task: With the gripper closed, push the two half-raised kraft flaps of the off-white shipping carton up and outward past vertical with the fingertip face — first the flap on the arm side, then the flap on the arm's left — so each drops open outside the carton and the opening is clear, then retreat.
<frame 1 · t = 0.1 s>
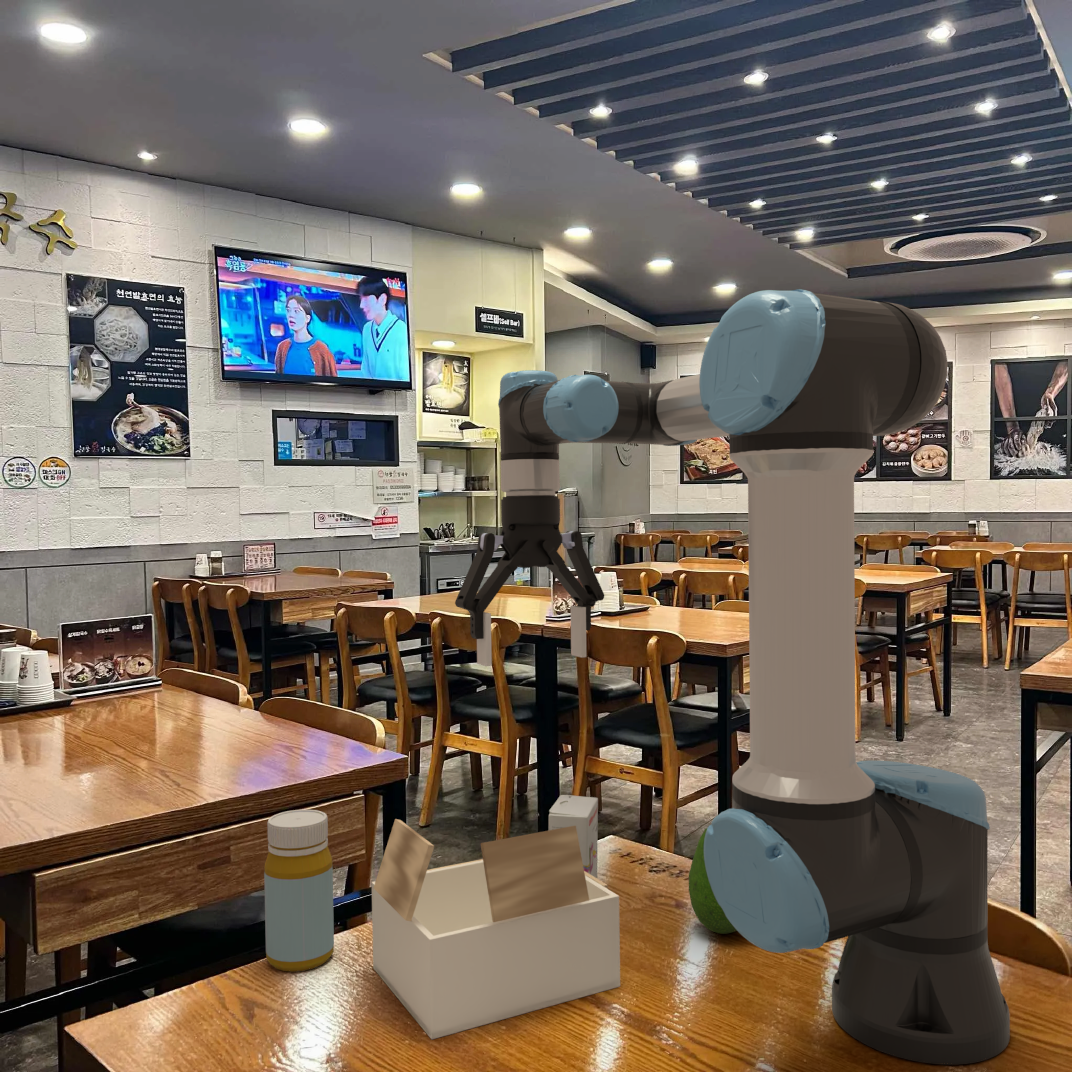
hand: (532, 660, 127), 28 cm above the table, fingers open, 13 cm apart
carton: (493, 976, 100), on the table
fruit: (724, 933, 110), on the table
left flap: (402, 867, 95), point 13 cm above the table, hinge at -20.1°
bottle: (300, 960, 105), on the table
ink box: (574, 902, 120), on the table
near flap: (535, 872, 94), point 13 cm above the table, hinge at -20.1°
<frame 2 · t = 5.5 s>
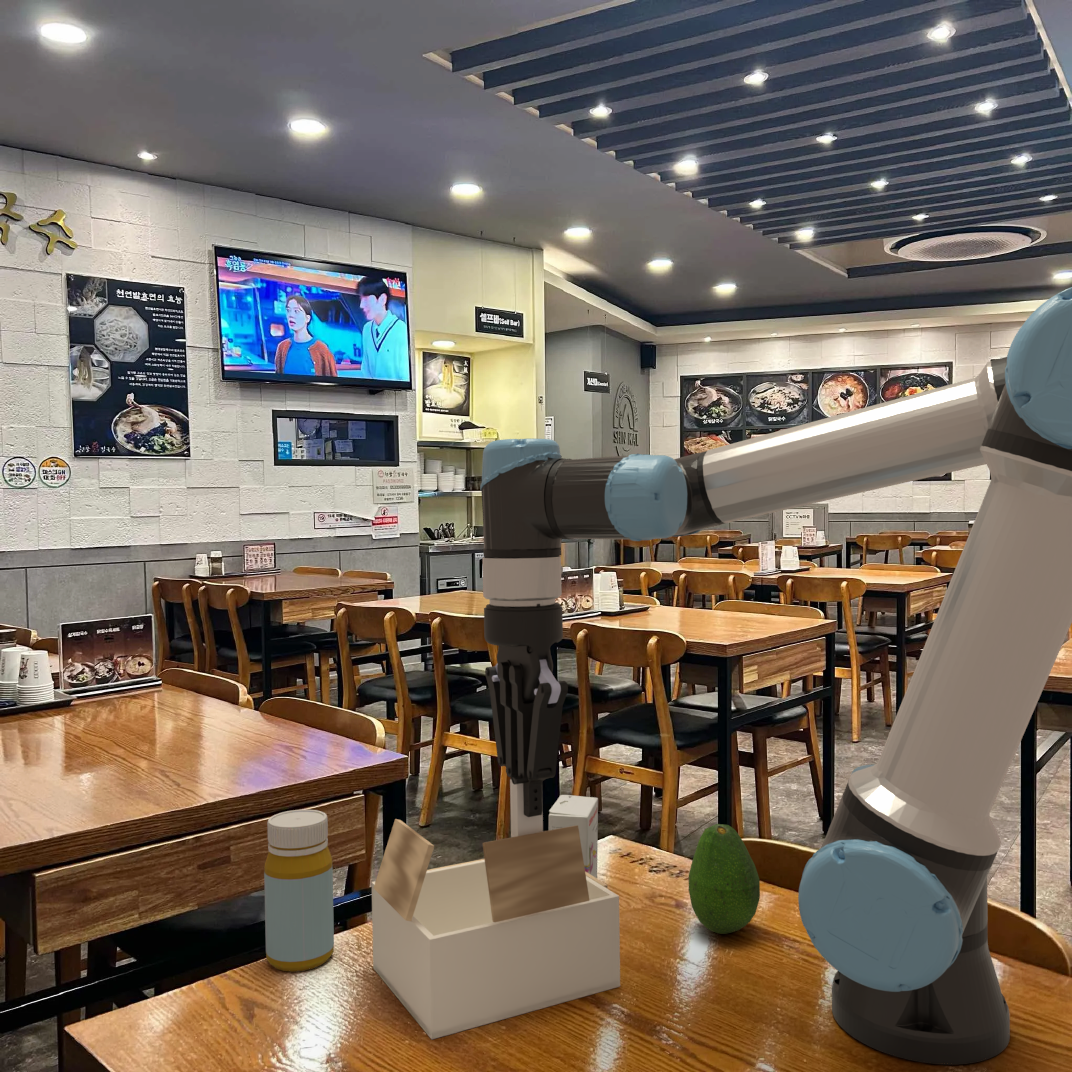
hand: (527, 846, 95), 15 cm above the table, fingers closed
near flap: (536, 872, 93), point 13 cm above the table, hinge at -16.4°, touching gripper
everything else where it was.
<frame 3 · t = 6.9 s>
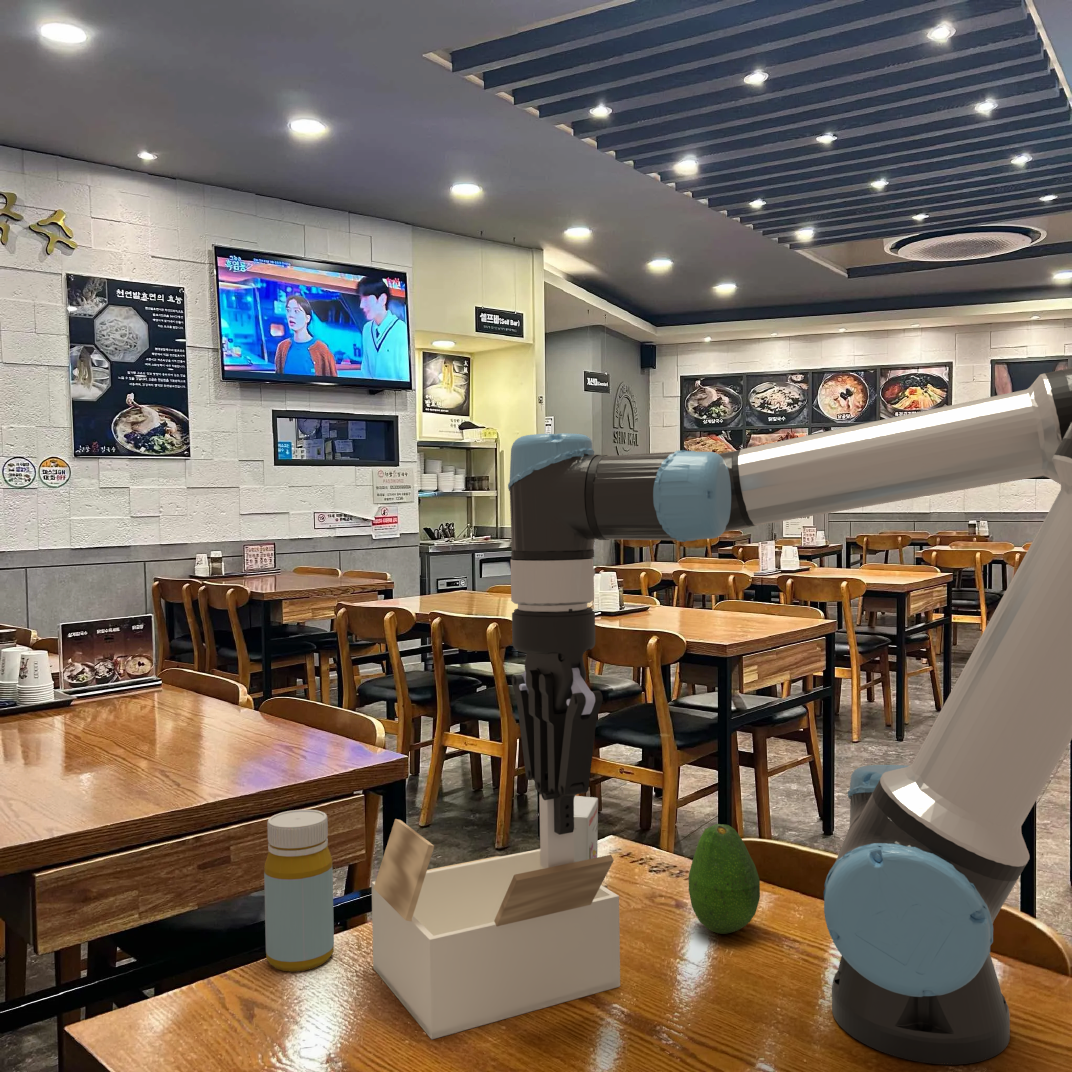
hand: (557, 864, 90), 15 cm above the table, fingers closed
near flap: (554, 890, 90), point 12 cm above the table, hinge at 37.2°, touching gripper
everything else where it was.
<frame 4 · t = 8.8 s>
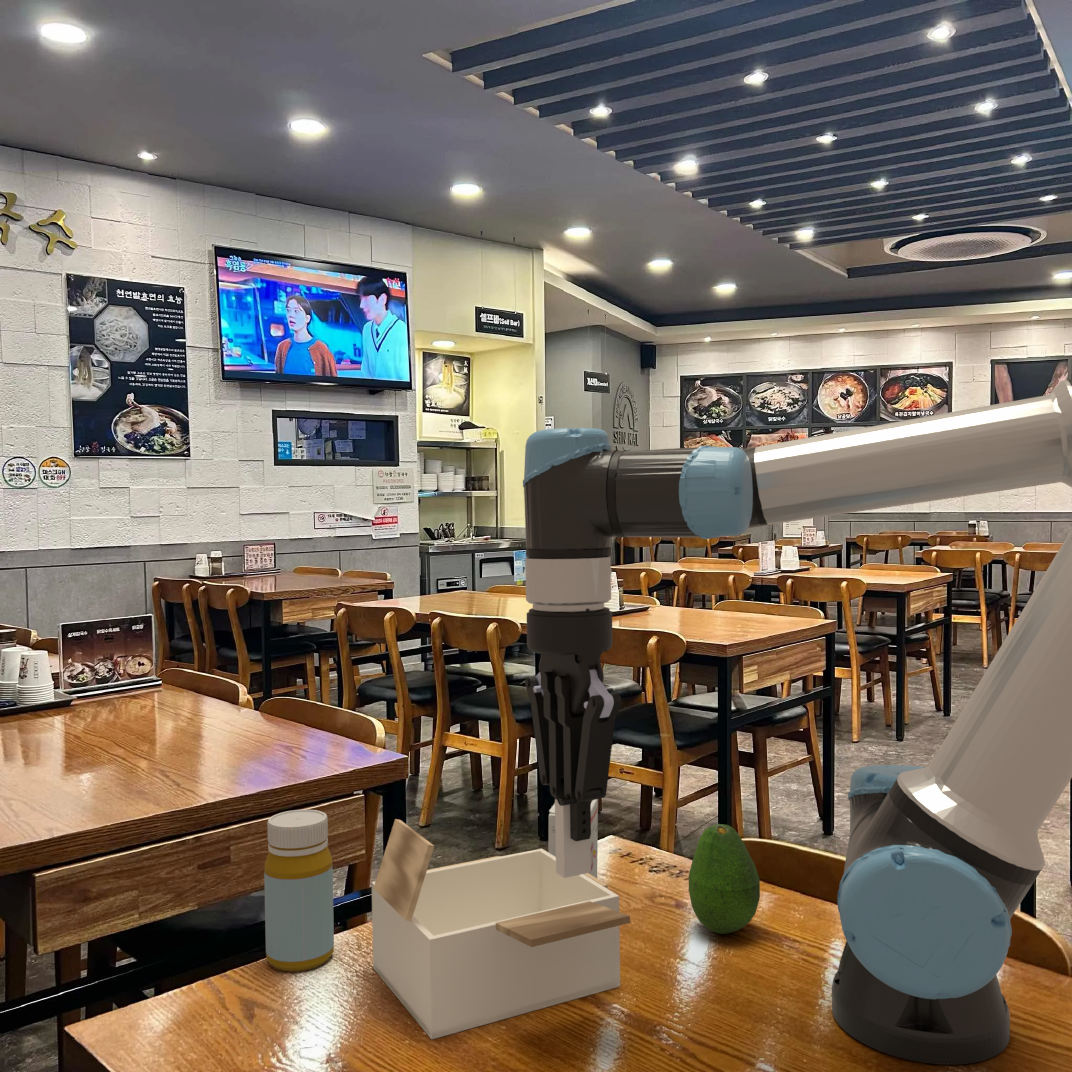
hand: (573, 872, 87), 15 cm above the table, fingers closed
near flap: (562, 922, 89), point 10 cm above the table, hinge at 81.5°
everything else where it was.
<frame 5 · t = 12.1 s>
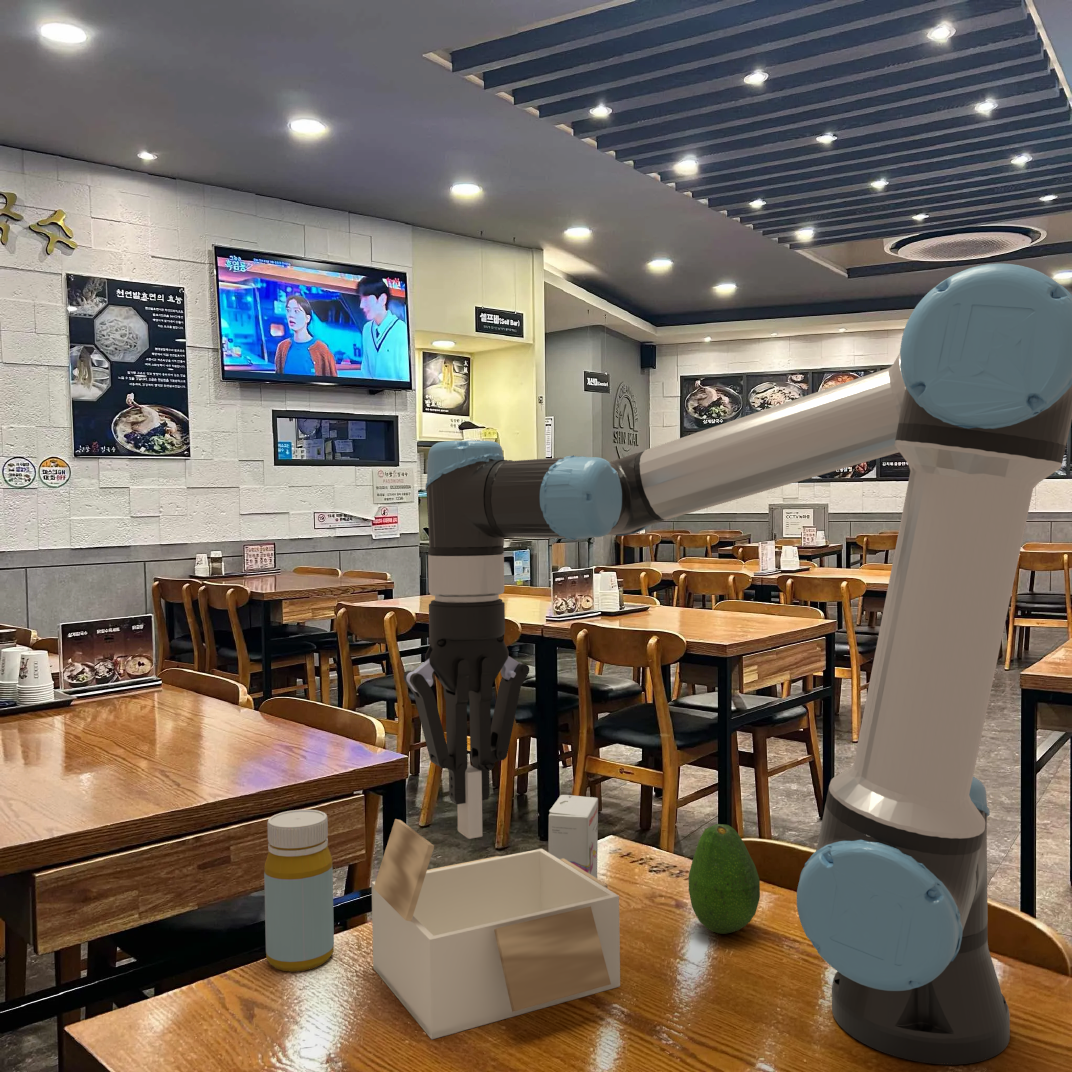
hand: (469, 833, 99), 15 cm above the table, fingers closed
near flap: (553, 957, 91), point 6 cm above the table, hinge at 150.2°
everything else where it was.
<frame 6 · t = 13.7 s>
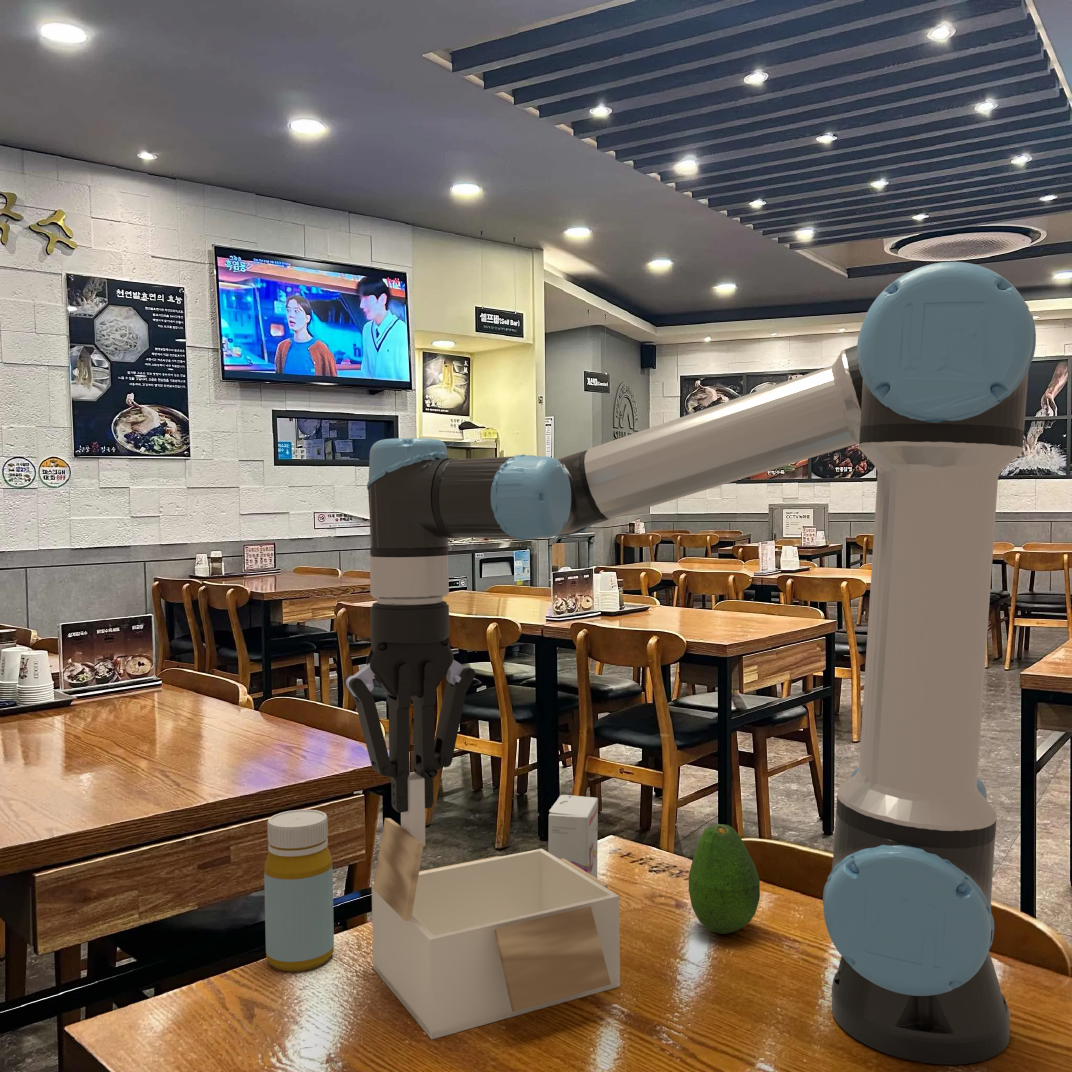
hand: (413, 842, 96), 15 cm above the table, fingers closed
left flap: (397, 867, 95), point 13 cm above the table, hinge at -11.2°, touching gripper
everything else where it was.
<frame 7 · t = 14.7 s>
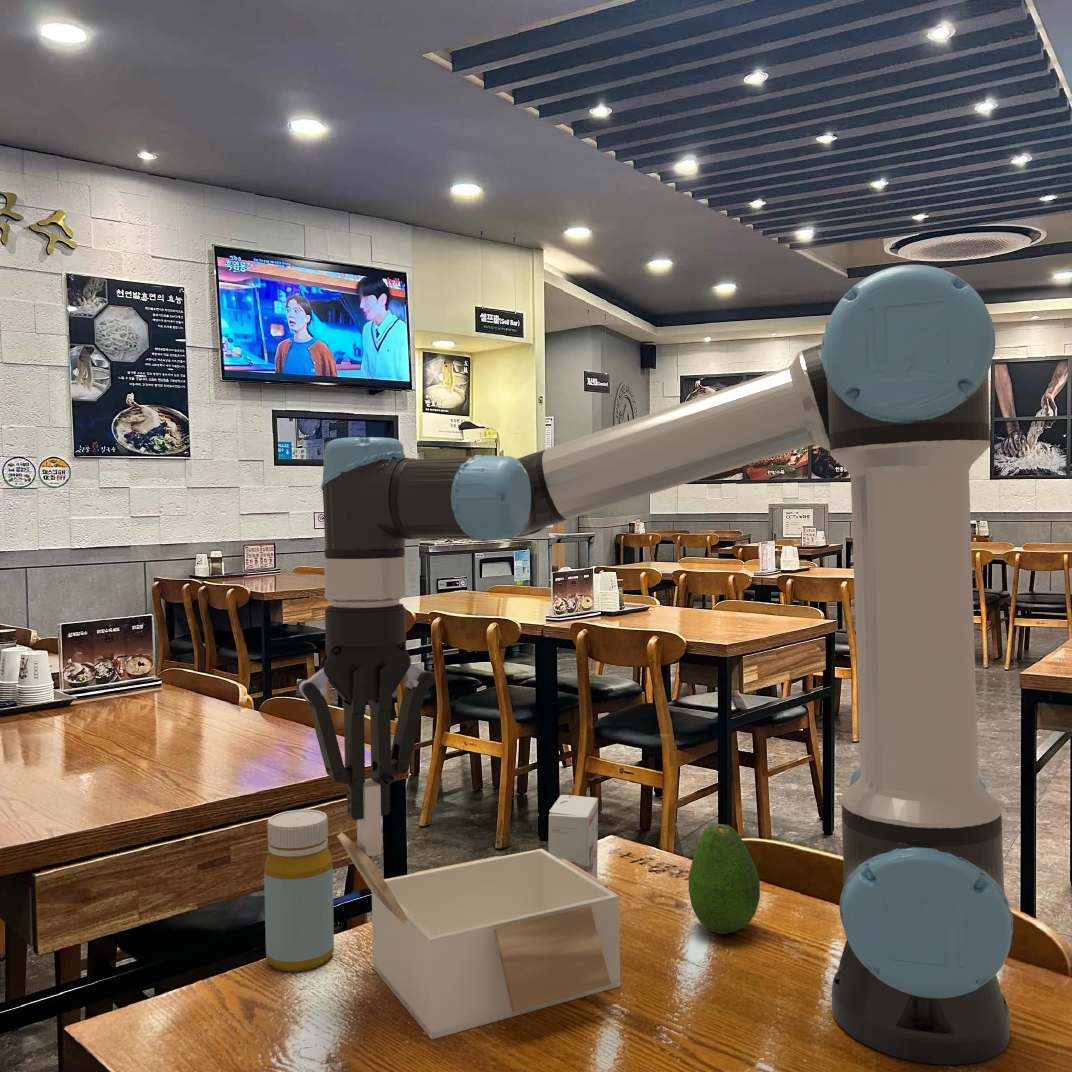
hand: (369, 850, 94), 15 cm above the table, fingers closed
left flap: (371, 876, 94), point 13 cm above the table, hinge at 29.2°, touching gripper
everything else where it was.
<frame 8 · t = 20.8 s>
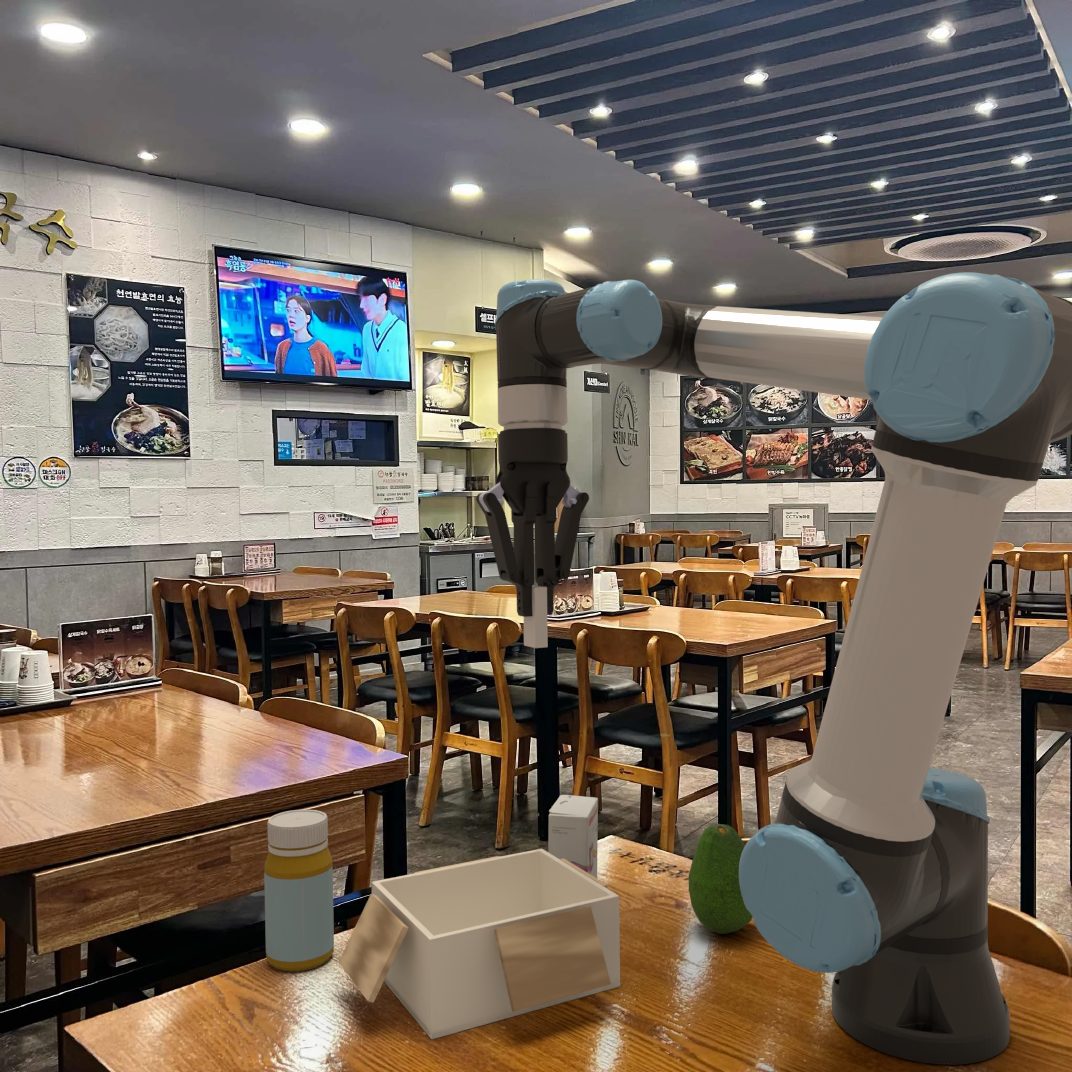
hand: (535, 646, 108), 32 cm above the table, fingers closed
left flap: (372, 945, 94), point 6 cm above the table, hinge at 150.2°
everything else where it was.
at the end: near flap at +150° (first picture: -20°); left flap at +150° (first picture: -20°) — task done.
